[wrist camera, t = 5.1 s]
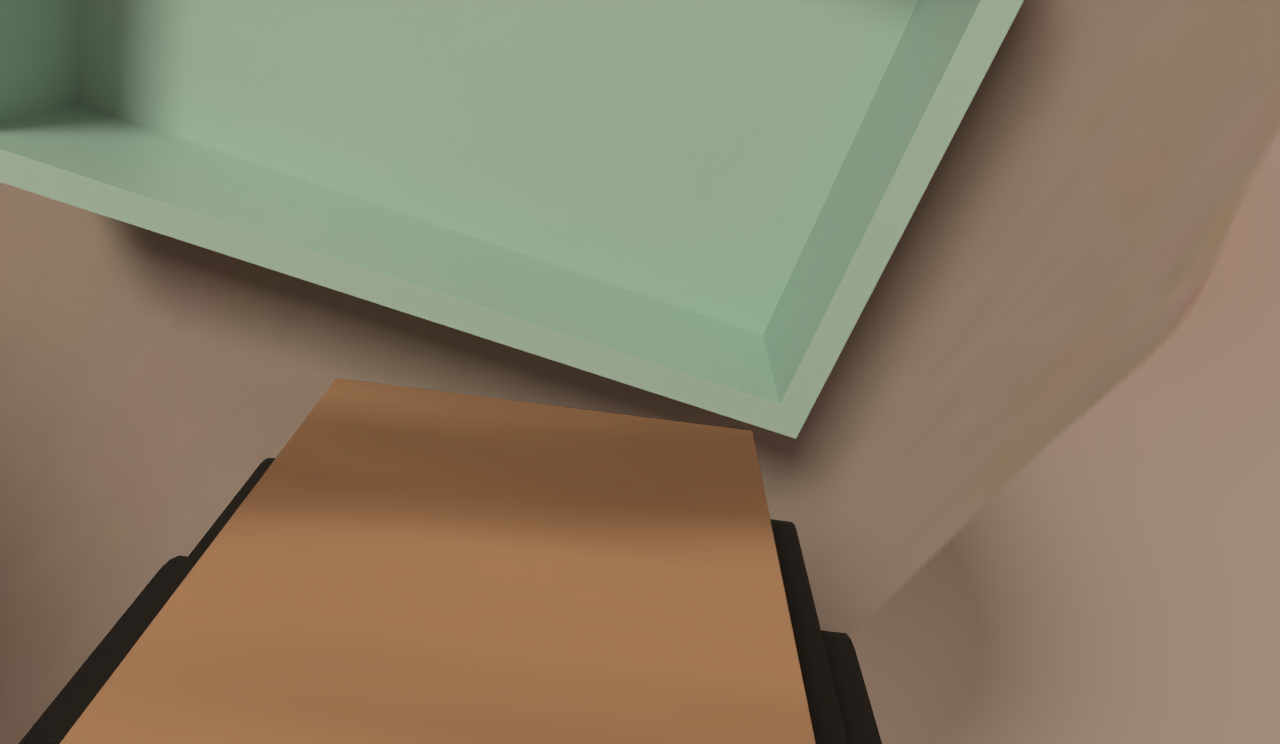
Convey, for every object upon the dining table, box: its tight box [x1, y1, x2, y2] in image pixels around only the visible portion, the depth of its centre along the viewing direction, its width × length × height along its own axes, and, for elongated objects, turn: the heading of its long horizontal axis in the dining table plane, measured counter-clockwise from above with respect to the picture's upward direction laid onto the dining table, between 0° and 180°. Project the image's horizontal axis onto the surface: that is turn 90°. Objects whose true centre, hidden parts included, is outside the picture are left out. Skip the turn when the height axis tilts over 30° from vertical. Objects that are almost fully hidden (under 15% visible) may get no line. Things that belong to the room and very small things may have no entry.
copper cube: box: [60, 378, 816, 744], centre depth 8 cm, size 5×5×5 cm
